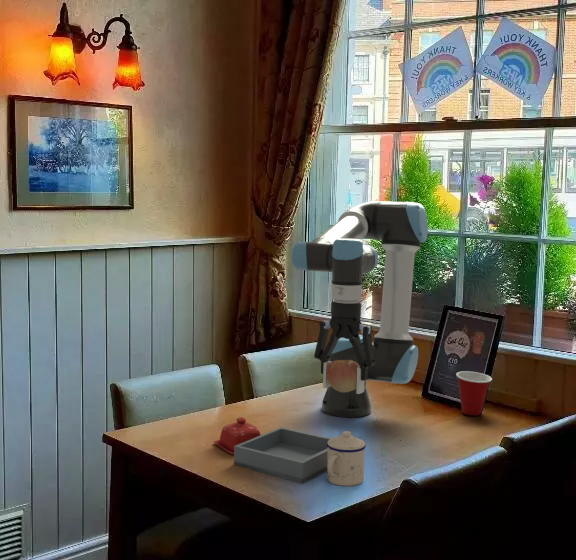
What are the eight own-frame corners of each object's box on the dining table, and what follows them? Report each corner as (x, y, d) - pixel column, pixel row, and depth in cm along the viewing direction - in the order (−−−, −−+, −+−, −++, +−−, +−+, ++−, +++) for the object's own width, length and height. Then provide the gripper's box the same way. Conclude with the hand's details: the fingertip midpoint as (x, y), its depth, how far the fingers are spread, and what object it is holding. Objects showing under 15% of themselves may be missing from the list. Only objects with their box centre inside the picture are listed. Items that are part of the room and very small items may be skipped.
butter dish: (271, 452, 212) (271, 420, 211) (231, 459, 206) (232, 426, 205) (249, 440, 221) (249, 409, 220) (211, 446, 215) (211, 415, 214)
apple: (337, 396, 200) (338, 364, 199) (320, 388, 208) (321, 357, 207) (367, 393, 204) (368, 362, 203) (349, 385, 212) (350, 355, 211)
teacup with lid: (338, 470, 199) (339, 423, 197) (371, 478, 193) (373, 430, 192) (311, 484, 189) (312, 435, 187) (345, 493, 184) (347, 443, 182)
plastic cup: (479, 420, 244) (481, 381, 242) (447, 413, 251) (449, 374, 250) (496, 413, 252) (498, 375, 251) (465, 406, 259) (467, 369, 258)
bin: (233, 465, 200) (234, 446, 200) (280, 445, 217) (280, 427, 216) (302, 484, 189) (302, 463, 188) (345, 460, 205) (346, 441, 205)
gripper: (301, 298, 206) (299, 386, 208) (378, 306, 194) (375, 399, 197) (316, 295, 212) (314, 380, 214) (392, 303, 200) (388, 393, 203)
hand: (343, 389), depth 205 cm, fingers closed on apple, 9 cm apart
